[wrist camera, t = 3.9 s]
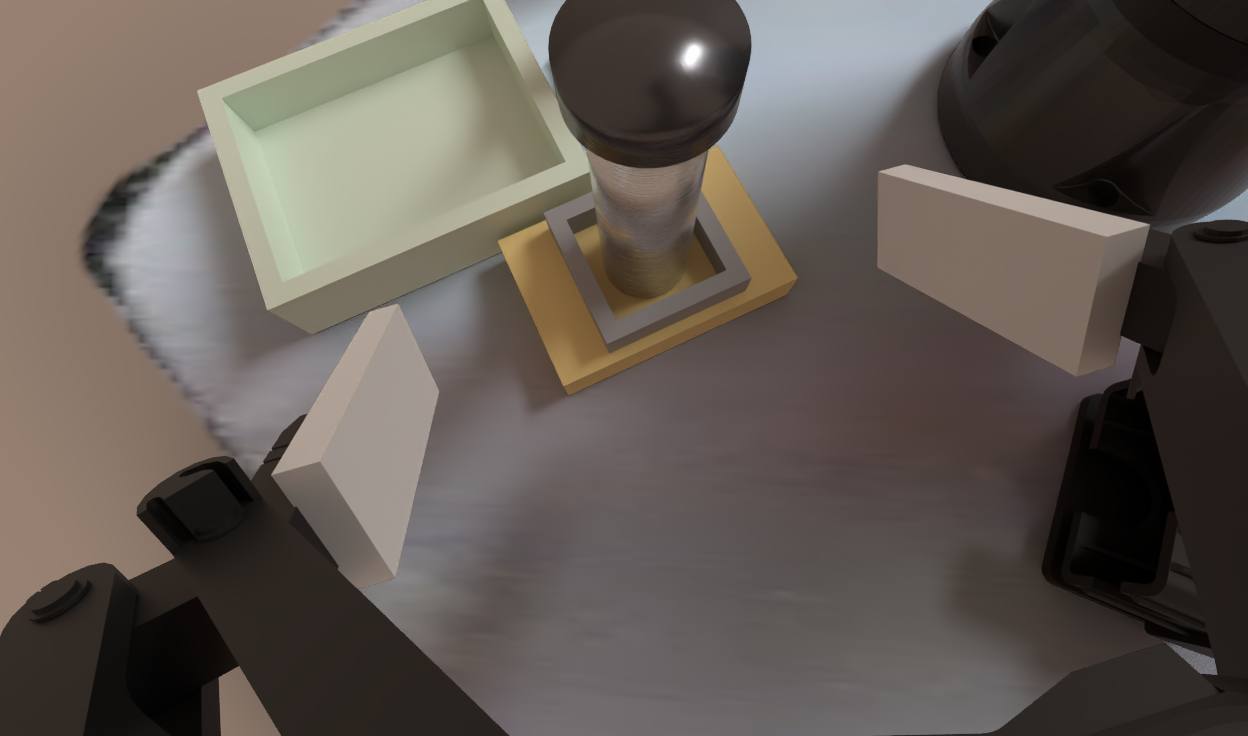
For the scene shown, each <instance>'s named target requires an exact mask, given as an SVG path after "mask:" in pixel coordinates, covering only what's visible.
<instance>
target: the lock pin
mask: <svg viewBox="0 0 1248 736" xmlns="http://www.w3.org/2000/svg"><path fill="white" fill-rule="evenodd" d="M548 50H549V60H550V65H551V70H552V75H553V80H554V85H555V90H556V95H557V100H558V105H559V108H560V112H561V115H562V118H563V120H564V122H565V124H566V126H567V127H568V129H569V131H570V132H571V133H572V135H573V136H574V137H575V138H576V139H577V141H579V142H580V143H581V144H582V145H583V146H584V147H585V148H586V150H587V157H588V164H589V171H590V177H591V184H592V191H593V198H594V205H595V211H596V218H597V225H598V232H599V238H600V245H601V252H602V259H603V266H604V270H605V273H606V275H607V277H608V279H609V281H610V282H611V283H612V284H613V285H614V286H615V287H616V288H617V289H618V290H619V291H621V292H623V293H624V294H626V295H629V296H632V297H636V298H654V297H658V296H661V295H664V294H666V293H667V292H669V291H671V290H672V289H673V288H674V287H675V286H677V284H678V283H679V282H680V281H681V279H682V277H683V276H684V273H685V270H686V267H687V262H688V256H689V251H690V246H691V240H692V235H693V230H694V225H695V219H696V214H697V209H698V203H699V198H700V193H701V188H702V182H703V177H704V172H705V166H706V161H707V156H708V150H709V149H710V148H711V147H712V146H713V145H714V144H715V143H717V142H718V141H719V140H720V139H721V137H722V136H723V135H724V134H725V133H726V132H727V130H728V128H729V127H730V125H731V124H732V122H733V120H734V118H735V115H736V113H737V109H738V106H739V102H740V98H741V94H742V90H743V86H744V81H745V77H746V73H747V69H748V65H749V61H750V55H751V34H750V29H749V25H748V22H747V20H746V17H745V15H744V13H743V11H742V9H741V8H740V6H739V4H738V3H737V2H736V1H735V0H566V1H565V3H564V4H563V5H562V6H561V8H560V10H559V11H558V13H557V15H556V17H555V19H554V22H553V24H552V27H551V31H550V36H549V47H548Z"/></svg>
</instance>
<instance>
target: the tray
mask: <svg viewBox="0 0 1248 736" xmlns="http://www.w3.org/2000/svg"><path fill="white" fill-rule="evenodd" d="M197 92H198V95H199V98H200V102H201V104H202V108H203V111H204V114H205V117H206V120H207V123H208V127H209V130H210V133H211V136H212V139H213V142H214V145H215V149H216V152H217V155H218V158H219V161H220V164H221V167H222V170H223V174H224V177H225V180H226V183H227V186H228V189H229V192H230V195H231V199H232V202H233V205H234V208H235V211H236V214H237V217H238V220H239V224H240V227H241V230H242V233H243V236H244V239H245V242H246V245H247V249H248V252H249V255H250V258H251V261H252V264H253V267H254V270H255V274H256V277H257V280H258V283H259V286H260V289H261V292H262V296H263V299H264V302H265V305H266V308H267V311H269V312H271V313H273V314H275V315H277V316H279V317H280V318H282V319H284V320H286V321H288V322H290V323H291V324H293V325H295V326H297V327H299V328H301V329H303V330H304V331H306V332H308V333H310V334H312V335H313V334H315V333H317V332H320V331H322V330H324V329H327V328H329V327H331V326H334V325H336V324H338V323H340V322H343V321H345V320H347V319H350V318H352V317H354V316H356V315H359V314H361V313H363V312H366V311H368V310H370V309H372V308H375V307H377V306H379V305H382V304H384V303H386V302H389V301H391V300H393V299H395V298H398V297H400V296H402V295H405V294H407V293H409V292H411V291H414V290H416V289H418V288H421V287H423V286H425V285H427V284H430V283H432V282H434V281H437V280H439V279H441V278H444V277H446V276H448V275H450V274H453V273H455V272H457V271H460V270H462V269H464V268H466V267H469V266H471V265H473V264H476V263H478V262H480V261H482V260H485V259H487V258H489V257H492V256H494V255H496V254H499V253H501V252H502V250H501V248H500V246H499V243H498V241H499V240H501V239H503V238H506V237H508V236H510V235H512V234H515V233H517V232H519V231H522V230H524V229H526V228H529V227H531V226H533V225H535V224H538V223H540V222H542V221H545V220H546V219H545V216H544V212H546V211H549V210H551V209H553V208H555V207H558V206H560V205H562V204H565V203H567V202H569V201H572V200H574V199H576V198H579V197H581V196H583V195H585V194H588V193H590V192H592V184H591V177H590V171H589V164H588V158H587V156H586V154H585V152H584V150H583V148H582V147H581V145H580V143H579V141H577V139H576V138H575V137H574V136H573V135H572V133H571V132H570V131H569V129H568V127H567V126H566V124H565V122H564V120H563V118H562V115H561V112H560V108H559V105H558V101H557V99H556V97H555V95H554V93H553V91H552V89H551V87H550V86H549V84H548V82H547V80H546V78H545V76H544V74H543V72H542V70H541V68H540V66H539V65H538V63H537V61H536V59H535V57H534V55H533V53H532V51H531V49H530V47H529V45H528V44H527V42H526V40H525V38H524V36H523V34H522V32H521V30H520V28H519V26H518V24H517V23H516V21H515V19H514V17H513V15H512V13H511V11H510V9H509V7H508V5H507V3H506V2H505V0H427V1H424V2H422V3H419V4H417V5H414V6H412V7H409V8H407V9H404V10H402V11H399V12H396V13H394V14H391V15H389V16H386V17H384V18H381V19H379V20H376V21H374V22H371V23H368V24H366V25H363V26H361V27H358V28H356V29H353V30H351V31H348V32H346V33H343V34H340V35H338V36H335V37H333V38H330V39H328V40H325V41H323V42H320V43H317V44H315V45H312V46H310V47H307V48H305V49H302V50H300V51H297V52H295V53H292V54H289V55H287V56H284V57H282V58H279V59H277V60H274V61H272V62H269V63H267V64H264V65H262V66H259V67H256V68H254V69H251V70H249V71H246V72H244V73H242V74H239V75H236V76H233V77H231V78H228V79H226V80H223V81H221V82H218V83H216V84H213V85H211V86H208V87H205V88H203V89H200V90H198V91H197Z"/></svg>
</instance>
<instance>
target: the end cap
mask: <svg viewBox="0 0 1248 736" xmlns="http://www.w3.org/2000/svg"><path fill="white" fill-rule="evenodd" d="M1130 382H1131V379H1128V380H1126V381H1122V382H1118V383H1115V384H1113V385H1111V386H1109V387H1108V388H1107V389H1106V390H1105V391H1104V393H1103V394H1095V395H1091V396H1088V397H1086V398H1084V399H1083V401H1082V402H1081V405H1080V409H1079V414H1078V418H1077V422H1076V426H1075V430H1074V435H1073V439H1072V443H1071V447H1070V451H1069V456H1068V460H1067V464H1066V468H1065V472H1064V476H1063V481H1062V485H1061V489H1060V493H1059V497H1058V502H1057V506H1056V510H1055V514H1054V518H1053V522H1052V527H1051V531H1050V535H1049V539H1048V543H1047V548H1046V552H1045V556H1044V560H1043V564H1042V573H1043V575H1044V577H1045V578H1046V580H1047V581H1049V582H1050V583H1051V584H1053V585H1055V586H1058V587H1060V588H1062V589H1065V590H1067V591H1070V592H1072V593H1074V594H1077V595H1079V596H1081V597H1084V598H1086V599H1089V600H1091V601H1093V602H1096V603H1098V604H1100V605H1103V606H1105V607H1108V608H1110V609H1112V610H1115V611H1117V612H1120V613H1122V614H1124V615H1127V616H1129V617H1131V618H1134V619H1137V620H1139V621H1142V622H1144V623H1145V631H1146V632H1147V633H1148V634H1150V635H1153V636H1155V637H1158V638H1160V639H1163V640H1165V641H1168V642H1170V643H1173V644H1176V645H1178V646H1181V647H1183V648H1186V649H1189V650H1192V651H1194V652H1197V653H1200V654H1203V655H1206V656H1209V657H1211V658H1214V656H1213V652H1212V648H1211V645H1210V641H1209V637H1208V633H1207V630H1206V626H1205V622H1204V618H1203V615H1202V611H1201V607H1200V603H1199V600H1198V596H1197V592H1196V588H1195V585H1194V581H1193V577H1192V573H1191V570H1190V566H1189V562H1188V558H1187V555H1186V551H1185V547H1184V544H1183V540H1182V536H1181V532H1180V529H1179V525H1178V521H1177V517H1176V514H1175V510H1174V506H1173V502H1172V499H1171V495H1170V491H1169V487H1168V484H1167V480H1166V476H1165V472H1164V469H1163V465H1162V461H1161V457H1160V454H1159V450H1158V446H1157V442H1156V439H1155V435H1154V431H1153V427H1152V424H1151V420H1150V416H1149V412H1148V409H1147V405H1146V401H1145V397H1144V394H1143V390H1141V391H1139V392H1137V393H1136V395H1135V398H1134V399H1127V398H1126V397H1127V393H1128V389H1129V386H1130Z"/></svg>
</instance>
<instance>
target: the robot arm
mask: <svg viewBox="0 0 1248 736" xmlns="http://www.w3.org/2000/svg"><path fill="white" fill-rule="evenodd" d="M938 112H939V120H940V124H941V129H942V132H943V136H944V138H945V141H946V144H947V146H948V148H949V150H950V152H951V154H952V156H953V158H954V160H955V161H956V163H957V165H958V166H959V168H960V169H961V170H962V172H963V173H964V174H965V176H966V177H967V178H968V180H967V179H963V178H959V177H955V176H951V175H947V174H943V173H938V172H934V171H930V170H926V169H922V168H918V167H914V166H910V165H906V164H904V165H901V166H897V167H893V168H890V169H886V170H882V171H879V172H878V253H877V268H879V269H881V270H883V271H884V272H886V273H888V274H890V275H892V276H894V277H895V278H897V279H899V280H901V281H903V282H905V283H906V284H908V285H910V286H912V287H914V288H915V289H917V290H919V291H921V292H923V293H925V294H926V295H928V296H930V297H932V298H934V299H935V300H937V301H939V302H941V303H943V304H945V305H946V306H948V307H950V308H952V309H954V310H955V311H957V312H959V313H961V314H963V315H965V316H966V317H968V318H970V319H972V320H974V321H975V322H977V323H979V324H981V325H983V326H985V327H986V328H988V329H990V330H992V331H994V332H995V333H997V334H999V335H1001V336H1003V337H1005V338H1006V339H1008V340H1010V341H1012V342H1014V343H1015V344H1017V345H1019V346H1021V347H1023V348H1025V349H1026V350H1028V351H1030V352H1032V353H1034V354H1035V355H1037V356H1039V357H1041V358H1043V359H1045V360H1046V361H1048V362H1050V363H1052V364H1054V365H1055V366H1057V367H1059V368H1061V369H1063V370H1065V371H1066V372H1068V373H1070V374H1072V375H1074V376H1075V377H1078V376H1081V375H1084V374H1088V373H1091V372H1095V371H1098V370H1101V369H1105V368H1108V367H1111V366H1114V363H1115V359H1116V355H1117V352H1118V348H1119V344H1120V340H1121V336H1123V337H1126V338H1128V339H1130V340H1132V341H1135V342H1137V343H1139V344H1141V346H1140V350H1139V354H1138V357H1137V361H1136V364H1135V368H1134V371H1133V375H1132V378H1131V382H1130V386H1129V389H1128V393H1127V397H1126V398H1127V399H1134V398H1135V395H1136V393H1137V392H1139V391H1141V390H1143V394H1144V397H1145V401H1146V405H1147V409H1148V412H1149V416H1150V420H1151V424H1152V427H1153V431H1154V435H1155V439H1156V442H1157V446H1158V450H1159V454H1160V457H1161V461H1162V465H1163V469H1164V472H1165V476H1166V480H1167V484H1168V487H1169V491H1170V495H1171V499H1172V502H1173V506H1174V510H1175V514H1176V517H1177V521H1178V525H1179V529H1180V532H1181V536H1182V540H1183V544H1184V547H1185V551H1186V555H1187V558H1188V562H1189V566H1190V570H1191V573H1192V577H1193V581H1194V585H1195V588H1196V592H1197V596H1198V600H1199V603H1200V607H1201V611H1202V615H1203V618H1204V622H1205V626H1206V630H1207V633H1208V637H1209V641H1210V645H1211V648H1212V652H1213V656H1214V660H1215V663H1216V669H1217V674H1218V675H1210V674H1200V673H1198V672H1197V671H1196V670H1195V669H1194V668H1193V667H1192V666H1190V665H1189V664H1188V663H1187V662H1186V661H1185V660H1184V659H1183V658H1181V657H1180V656H1179V655H1178V654H1177V653H1176V652H1175V651H1174V650H1172V649H1171V648H1170V647H1169V646H1168V645H1167V644H1166V643H1162V644H1159V645H1156V646H1153V647H1150V648H1147V649H1143V650H1140V651H1137V652H1134V653H1131V654H1128V655H1125V656H1121V657H1118V658H1115V659H1112V660H1109V661H1106V662H1103V663H1099V664H1096V665H1093V666H1090V667H1087V668H1084V669H1081V670H1077V671H1074V672H1071V673H1070V674H1069V675H1067V676H1066V677H1065V678H1064V679H1062V680H1061V681H1060V682H1059V683H1057V684H1056V685H1055V686H1054V687H1052V688H1051V689H1050V690H1048V691H1047V692H1046V693H1045V694H1043V695H1042V696H1041V697H1040V698H1038V699H1037V700H1036V701H1034V702H1033V703H1032V704H1031V705H1029V706H1028V707H1027V708H1026V709H1024V710H1023V711H1022V712H1021V713H1019V714H1018V715H1017V716H1015V717H1014V718H1013V719H1012V720H1010V721H1009V722H1008V723H1007V724H1005V725H1004V726H1003V727H1001V728H1000V729H998V730H996V731H993V732H990V733H983V734H943V735H892V736H1248V222H1245V221H1240V220H1215V221H1211V222H1200V223H1193V222H1195V221H1197V220H1199V219H1201V218H1203V217H1205V216H1207V215H1208V214H1210V213H1212V212H1214V211H1216V210H1218V209H1220V208H1221V207H1223V206H1225V205H1226V204H1228V203H1229V202H1231V201H1232V200H1233V199H1235V198H1236V197H1238V196H1239V195H1240V194H1241V193H1243V192H1244V191H1245V190H1246V189H1248V0H993V1H992V2H991V3H990V4H989V5H988V6H987V7H986V8H985V9H984V11H983V12H982V13H981V14H980V15H979V16H978V17H977V18H976V20H975V21H974V23H973V24H972V25H971V27H970V28H969V30H968V31H967V33H966V34H965V36H964V37H963V39H962V40H961V41H960V43H959V44H958V46H957V47H956V49H955V50H954V52H953V53H952V55H951V57H950V58H949V60H948V62H947V64H946V66H945V69H944V72H943V74H942V78H941V82H940V87H939V94H938ZM1191 223H1193V224H1191ZM438 394H439V390H438V388H437V385H436V383H435V381H434V379H433V377H432V375H431V373H430V370H429V368H428V366H427V364H426V362H425V360H424V358H423V355H422V353H421V351H420V349H419V347H418V345H417V343H416V340H415V338H414V336H413V334H412V332H411V330H410V328H409V325H408V323H407V321H406V319H405V317H404V315H403V313H402V310H401V308H400V306H399V304H395V305H391V306H388V307H384V308H380V309H377V310H373V311H370V312H369V313H368V314H367V316H366V318H365V319H364V321H363V323H362V324H361V326H360V328H359V329H358V331H357V333H356V334H355V336H354V338H353V339H352V341H351V343H350V344H349V346H348V348H347V349H346V351H345V353H344V354H343V356H342V358H341V359H340V361H339V363H338V364H337V366H336V368H335V369H334V371H333V373H332V374H331V376H330V378H329V379H328V381H327V383H326V384H325V386H324V388H323V389H322V391H321V393H320V394H319V396H318V398H317V399H316V401H315V403H314V404H313V406H312V408H311V409H310V411H309V413H308V414H305V415H302V416H300V417H299V418H298V419H296V420H295V421H294V422H293V423H292V424H291V425H290V426H289V427H287V428H286V429H285V430H284V431H283V432H282V433H281V435H280V436H279V438H278V439H277V441H276V443H275V444H274V446H273V447H272V451H270V452H269V453H268V455H267V457H266V458H265V460H264V461H263V462H264V464H263V465H261V466H260V468H259V469H258V471H257V472H256V474H255V475H254V477H253V478H252V480H251V481H250V480H249V478H248V477H247V475H246V474H245V473H244V471H243V470H242V469H241V467H240V466H239V465H238V463H237V462H236V461H235V459H234V458H231V457H227V456H221V457H213V458H210V459H207V460H204V461H201V462H198V463H195V464H193V465H191V466H189V467H187V468H185V469H183V470H181V471H179V472H177V473H175V474H174V475H172V476H171V477H169V478H167V479H166V480H164V481H163V482H161V483H160V484H158V485H157V486H156V487H155V488H154V489H153V490H151V491H150V492H149V493H148V494H147V495H146V496H145V497H144V498H143V500H142V501H141V503H140V504H139V505H138V507H137V516H138V517H139V518H140V520H141V521H142V522H143V523H144V524H145V525H146V526H147V527H148V528H149V529H150V531H151V532H152V533H153V534H154V535H155V536H156V537H157V538H158V539H159V540H160V541H161V542H162V544H163V545H164V546H165V547H166V548H167V549H168V550H169V551H170V552H171V553H172V554H173V556H174V559H172V560H170V561H168V562H166V563H164V564H162V565H160V566H158V567H156V568H153V569H151V570H150V571H147V572H145V573H143V574H141V575H139V576H137V577H135V578H133V579H130V580H127V578H126V577H125V576H124V575H123V574H122V573H120V572H119V571H118V570H117V569H116V568H115V567H114V566H113V565H111V564H107V563H99V564H95V565H90V566H87V567H84V568H82V569H79V570H77V571H75V572H72V573H70V574H68V575H66V576H65V577H63V578H61V579H59V580H58V581H57V580H56V581H53V582H51V583H49V584H48V585H46V586H45V587H43V588H42V589H41V590H42V591H41V592H36V593H35V594H34V595H33V596H31V597H30V598H29V599H28V600H27V601H26V603H25V605H23V606H22V607H21V608H20V609H19V610H18V611H17V612H16V613H15V614H14V615H13V616H12V617H11V619H10V620H9V622H8V623H7V625H6V626H5V628H4V629H3V631H2V633H1V636H0V736H221V730H220V729H221V728H220V704H219V680H218V677H220V676H222V675H223V674H225V673H227V672H229V671H231V670H232V669H234V668H236V667H238V666H240V668H241V669H242V671H243V673H244V674H245V676H246V678H247V679H248V681H249V683H250V684H251V686H252V688H253V689H254V691H255V693H256V694H257V696H258V698H259V699H260V701H261V703H262V704H263V706H264V708H265V709H266V711H267V713H268V714H269V716H270V717H271V719H272V721H273V723H274V724H275V726H276V728H277V729H278V731H279V733H280V734H281V736H509V735H508V734H507V733H506V732H505V731H504V730H503V729H502V728H501V727H500V726H499V725H498V724H497V723H496V722H495V721H493V720H492V719H491V718H490V717H489V716H488V715H487V714H486V713H485V712H484V711H483V710H482V709H481V708H480V707H479V706H478V705H477V704H476V703H475V702H474V701H473V700H472V699H471V698H470V697H469V696H468V695H467V694H466V693H465V692H464V691H462V690H461V689H460V688H459V687H458V686H457V685H456V684H455V683H454V682H453V681H452V680H451V679H450V678H449V677H448V676H447V675H446V674H445V673H444V672H443V671H442V670H441V669H440V668H439V667H438V666H437V665H436V664H435V663H434V662H432V661H431V660H430V659H429V658H428V657H427V656H426V655H425V654H424V653H423V652H422V651H421V650H420V649H419V648H418V647H417V646H416V645H415V644H414V643H413V642H412V641H411V640H410V639H409V638H408V637H407V636H406V635H405V634H404V633H403V632H401V631H400V630H399V629H398V628H397V627H396V626H395V625H394V624H393V623H392V622H391V621H390V620H389V619H388V618H387V617H386V616H385V615H384V614H383V613H382V612H381V611H380V610H379V609H378V608H377V607H376V606H375V605H374V604H373V603H372V602H370V601H369V600H368V599H367V598H366V597H365V596H364V595H363V594H362V593H361V592H360V591H359V590H358V589H360V588H363V587H367V586H370V585H374V584H377V583H380V582H384V581H387V580H391V579H394V578H395V577H396V573H397V569H398V565H399V560H400V556H401V552H402V548H403V543H404V539H405V535H406V531H407V526H408V522H409V518H410V514H411V509H412V505H413V501H414V497H415V492H416V488H417V484H418V480H419V475H420V471H421V467H422V463H423V458H424V454H425V450H426V446H427V441H428V437H429V433H430V428H431V424H432V420H433V416H434V411H435V407H436V403H437V399H438ZM337 569H338V570H339V571H340V572H341V573H340V572H339V571H338V570H337Z"/></svg>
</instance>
